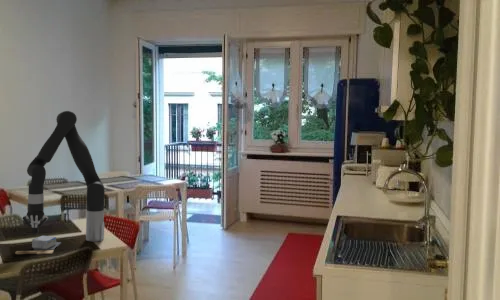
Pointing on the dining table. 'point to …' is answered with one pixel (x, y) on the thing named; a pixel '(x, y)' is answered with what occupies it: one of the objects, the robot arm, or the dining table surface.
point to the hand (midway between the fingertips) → (35, 234)
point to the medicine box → (43, 242)
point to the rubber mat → (50, 247)
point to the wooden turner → (35, 252)
